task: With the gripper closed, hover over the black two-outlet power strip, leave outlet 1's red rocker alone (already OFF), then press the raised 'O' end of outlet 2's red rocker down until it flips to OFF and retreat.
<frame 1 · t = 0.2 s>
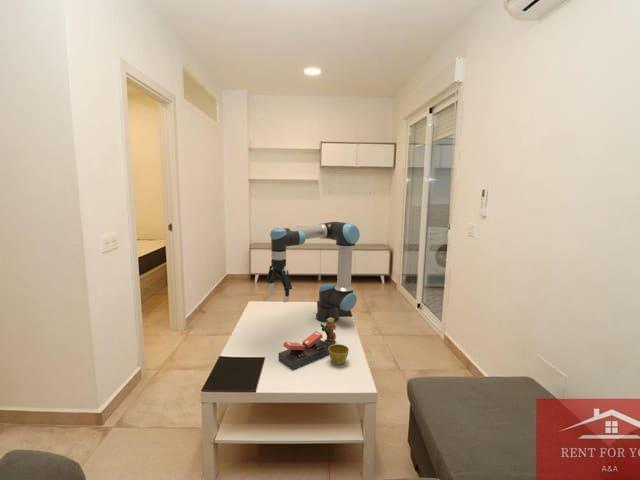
hand: (278, 298, 179), 28 cm above the table, fingers open, 13 cm apart
rocker 2: (294, 346, 172), point 7 cm above the table, hinge at -19.0°
flower pot: (338, 362, 170), on the table
figurine: (328, 342, 192), on the table
power strip: (306, 356, 175), on the table
rocker 1: (312, 339, 179), point 7 cm above the table, hinge at 19.0°
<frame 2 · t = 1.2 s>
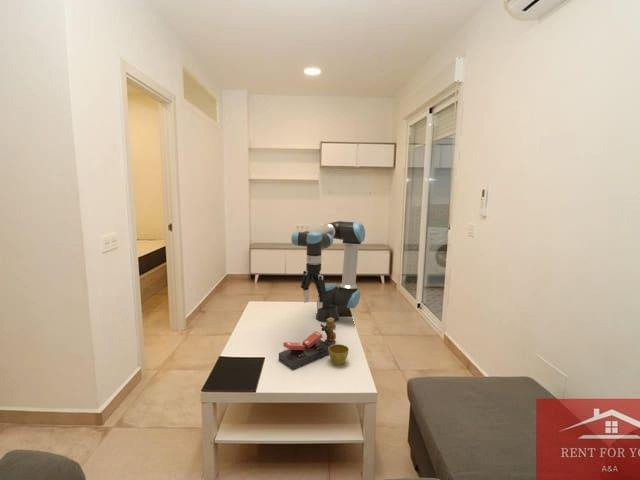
hand: (312, 304, 176), 26 cm above the table, fingers open, 10 cm apart
nothing on the table moved.
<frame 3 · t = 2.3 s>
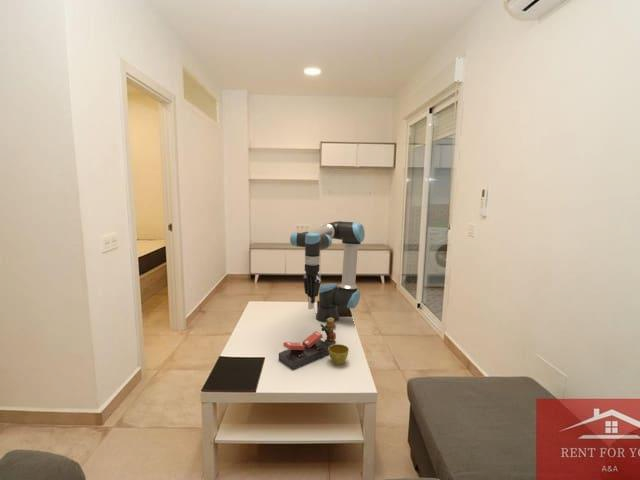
hand: (311, 308, 176), 24 cm above the table, fingers closed
nothing on the table moved.
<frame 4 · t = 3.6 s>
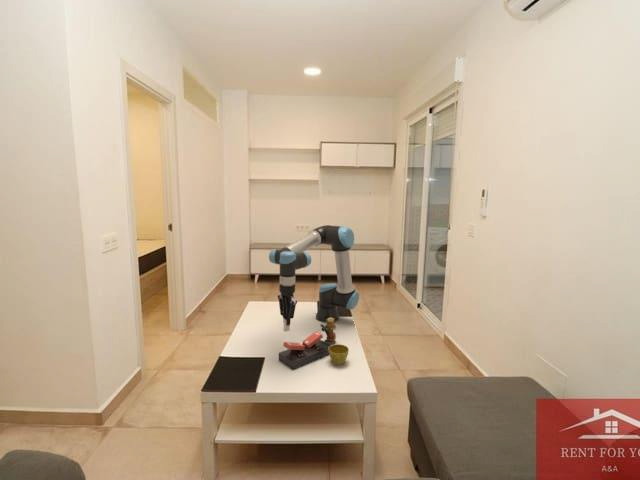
hand: (286, 330, 167), 16 cm above the table, fingers closed
nothing on the table moved.
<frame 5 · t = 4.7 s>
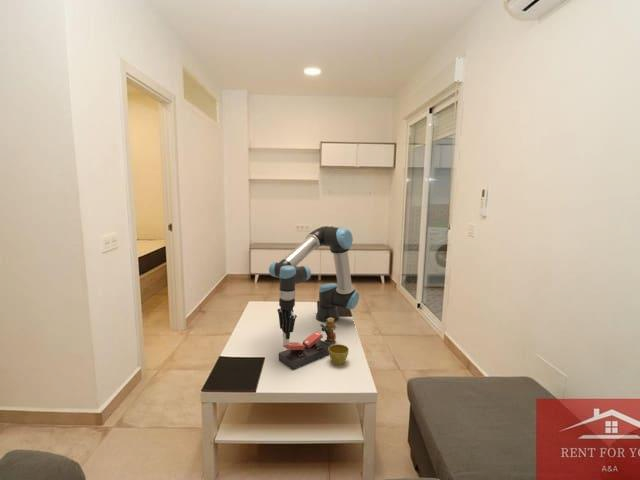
hand: (286, 344, 168), 9 cm above the table, fingers closed
rocker 2: (294, 346, 172), point 7 cm above the table, hinge at -16.2°, touching gripper
everything else where it was.
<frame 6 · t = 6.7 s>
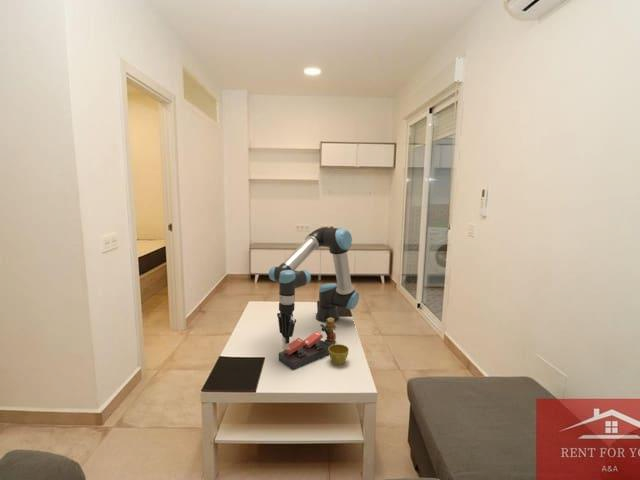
hand: (285, 348, 168), 7 cm above the table, fingers closed
rocker 2: (294, 346, 172), point 7 cm above the table, hinge at 14.8°, touching gripper
everything else where it was.
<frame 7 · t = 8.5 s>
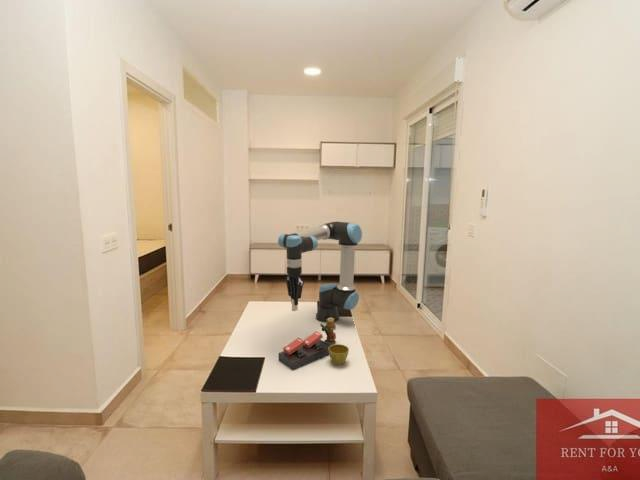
hand: (294, 310, 177), 23 cm above the table, fingers closed
rocker 2: (294, 346, 172), point 7 cm above the table, hinge at 15.2°
everything else where it was.
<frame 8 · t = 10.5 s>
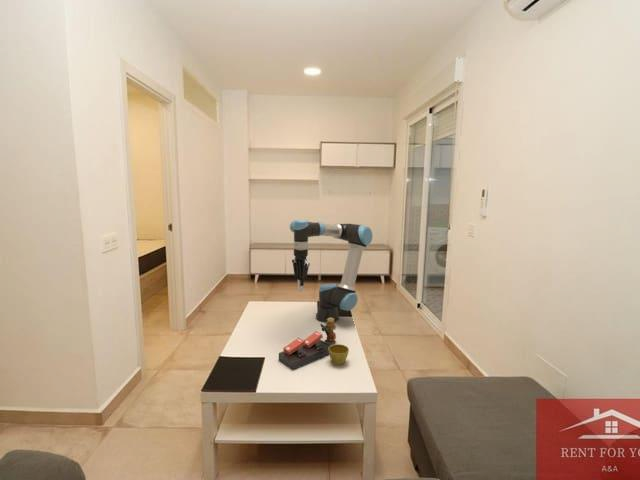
hand: (300, 291, 187), 29 cm above the table, fingers closed
nothing on the table moved.
at the end: rocker 2 at +15° (first picture: -19°); rocker 1 at +19° (first picture: +19°); flower pot moved 0.2 cm from its start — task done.
